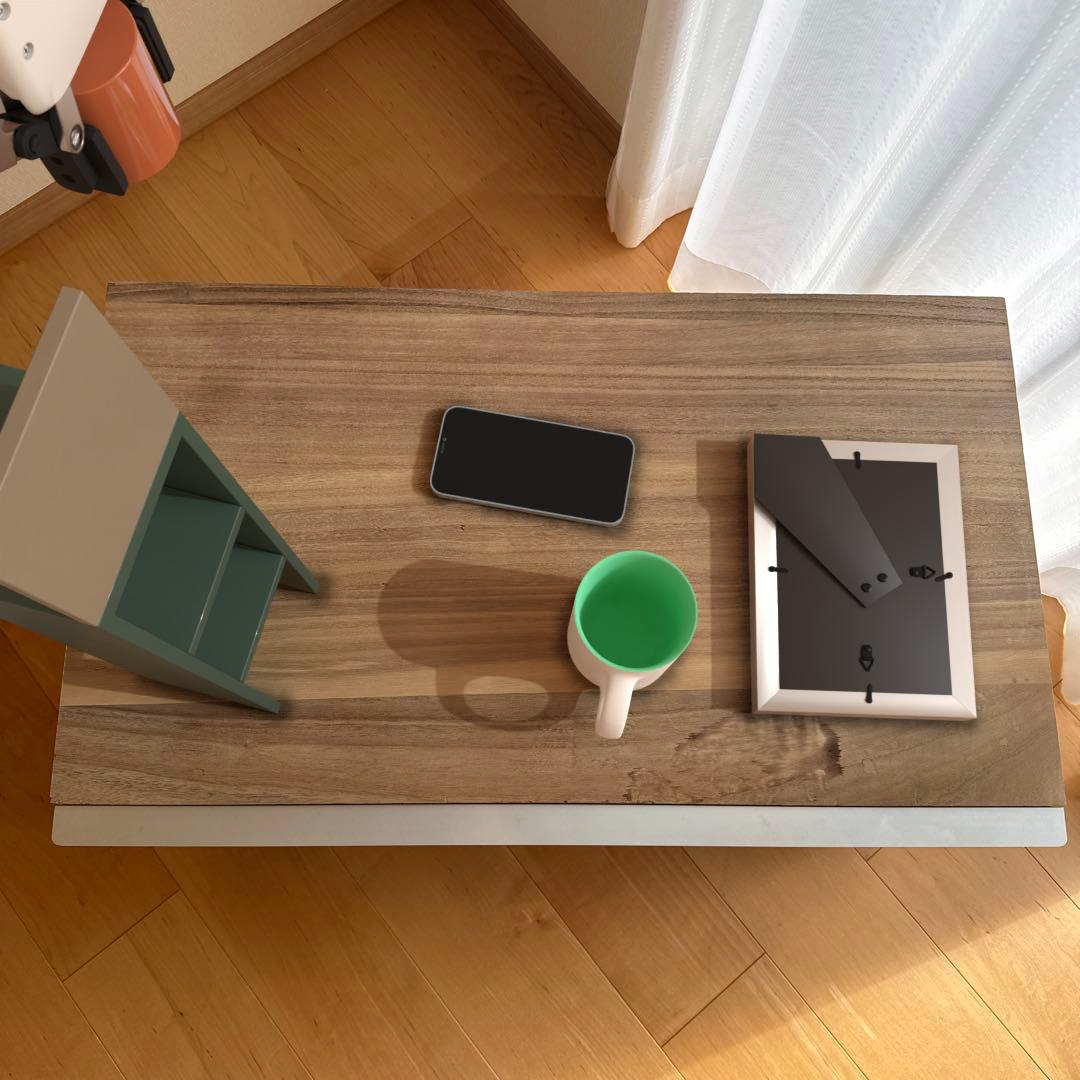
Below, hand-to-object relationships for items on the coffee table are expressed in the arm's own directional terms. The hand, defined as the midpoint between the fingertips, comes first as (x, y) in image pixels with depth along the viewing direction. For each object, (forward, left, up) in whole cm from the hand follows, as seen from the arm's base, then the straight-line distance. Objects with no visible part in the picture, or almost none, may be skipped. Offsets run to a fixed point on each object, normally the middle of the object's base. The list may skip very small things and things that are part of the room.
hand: (115, 123), depth 47 cm
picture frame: (+44, 0, -39) cm, 59 cm away
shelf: (0, -15, -39) cm, 42 cm away
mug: (+28, -10, -39) cm, 50 cm away
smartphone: (+18, +3, -39) cm, 43 cm away
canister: (0, 0, -1) cm, 1 cm away
